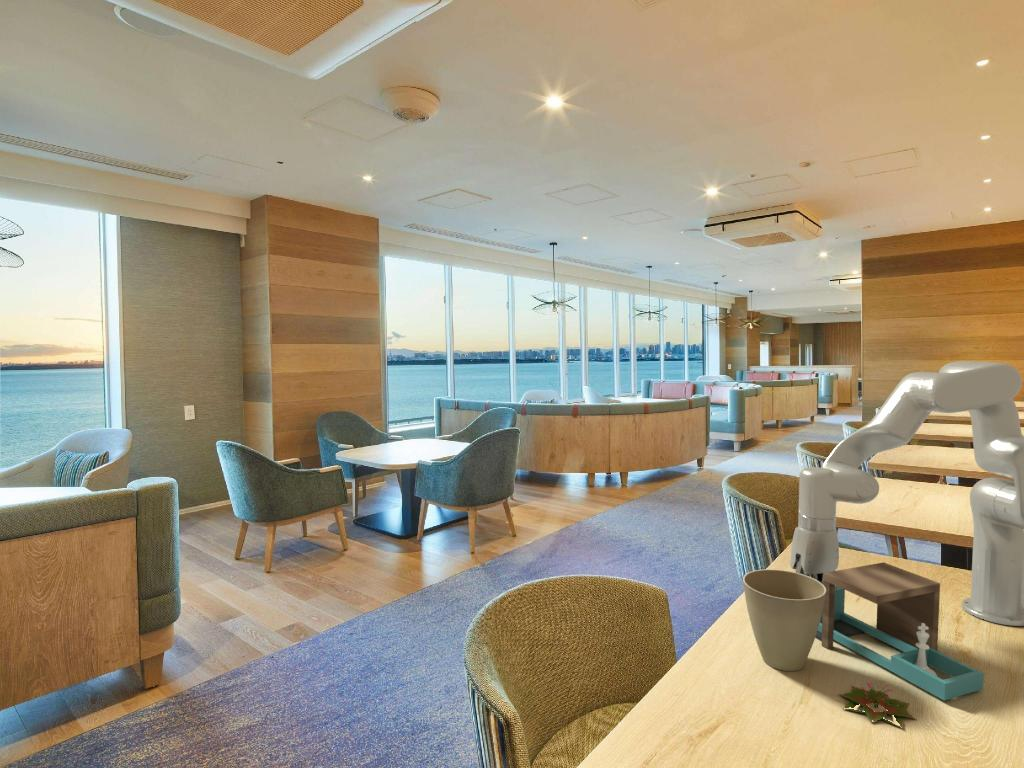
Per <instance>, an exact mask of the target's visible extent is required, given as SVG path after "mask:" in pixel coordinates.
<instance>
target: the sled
mask: <svg viewBox="0 0 1024 768" xmlns="http://www.w3.org/2000/svg"><path fill="white" fill-rule="evenodd" d="M845 594H846V590H844V589H842V588H840V587H838V586H835V601H834V621H837V620H842V621H844V622H846V623H848V624H850V625H852V626H854V627H856V628H858V629H860V630H862V631H864V632H865V633H866V634H867V635H870V636H872V637H874V638H876V639H878V640H879V641H882V642H884V643H885V644H887V645H890V646H891V647H893V648H896V649H898V650H899V651H902V652H900V653H896V654H891V656H890V658H887V657H885V656H883V655H882V654H879V653H878V652H876V651H874V650H873V649H870V648H869V647H867V646H865V645H864V644H862V643H859V642H857V641H856V640H854V639H852V638H850V637H849V636H847V637H846V636H844V635H843V634H841V633H839V632H837V631H835V630H834V634H833V639H834V640H833V641H836V642H838V643H839V644H841V645H843V646H844V647H846V648H849V650H852V651H854V652H856V653H857V654H859V655H861V656H863V657H865V658H866V659H868V660H870V661H872V662H874V663H875V664H878V665H879V666H881V667H882V668H885V669H886V670H888V671H890V672H891V673H894V674H895V675H897V676H899V677H901V678H903V679H904V680H907V681H908V682H909V683H912V684H913V685H915V686H917V687H919V688H920V689H923V690H924V691H925V692H928V693H930V694H931V695H933V696H935V697H937V698H938V699H940V700H943V701H947V700H950V699H951V700H952V699H953V698H957V697H958V698H959V697H961V696H964V695H967V694H971V693H974V692H975V693H976V692H979V691H981V690H984V681H985V680H984V677H985V675H984V674H985V673H984V672H983V671H980V670H978V669H977V668H976V667H975V668H974V667H973V666H970V665H968V664H966V663H965V662H962V661H961V660H957V659H956V658H953V657H952V656H949V655H947V654H945V653H944V652H941V651H939V650H938V649H937V650H935V649H933V648H931V647H929V649H925V652H926V662H927V666H931V667H933V668H935V669H937V670H939V671H940V672H942V673H945V674H946V675H949V676H951V677H948V678H946V679H945V678H944V679H942V678H941V677H939V676H938V675H937V676H935V675H933V674H931V673H929V672H927V671H925V670H923V669H921V668H920V667H918V666H916V665H914V664H915V663H916V662H917V658H918V653H919V649H917V648H915V647H913V646H911V645H909V644H907V643H905V642H903V641H901V640H899V639H897V638H895V637H893V636H891V635H889V634H887V633H885V632H883V631H881V630H879V629H877V628H876V626H872V625H870V624H868V623H867V622H865V621H863V620H860V619H858V618H856V617H855V616H852V615H850V614H848V613H846V612H845V600H846V599H845V597H846V595H845ZM822 612H823V611H822ZM818 631H819V632H821V633H822V616H821V620H820V624H819V627H818Z"/></svg>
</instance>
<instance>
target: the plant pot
mask: <svg viewBox="0 0 1024 768" xmlns="http://www.w3.org/2000/svg"><path fill="white" fill-rule="evenodd" d="M742 582H743V590H744V595H745V597H744V598H745V603H746V608H747V613H748V617H749V621H750V625H751V629H752V632H753V634H754V635H753V636H754V638H755V641H756V642H755V643H756V644H757V647H758V650H759V653H760V655H761V658H762V660H763V662H764V663H765V664H766V663H767V664H766V665H768V666H769V667H771V668H773V669H777V670H780V671H784V672H795V671H799V670H801V669H802V668H803V667H804V665H805V663H806V661H807V659H808V656H809V654H810V652H811V650H812V647H813V644H814V642H815V640H816V638H815V637H816V634H817V631H818V627H819V624H820V620H821V616H822V611H823V606H824V601H825V596H826V588H825V586H824V585H823V584H822V583H820V582H819V581H817V580H816V579H814V578H811V577H809V576H806V575H803V574H800V573H796V571H789V570H785V569H784V570H783V569H772V568H771V569H769V568H767V569H764V568H763V569H755V570H752V571H749V572H747V573H744V575H743V577H742Z"/></svg>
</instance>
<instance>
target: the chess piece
mask: <svg viewBox="0 0 1024 768" xmlns="http://www.w3.org/2000/svg"><path fill="white" fill-rule="evenodd" d="M918 629H919V630H921V631H917V632H916V634H917V636H918V640H919V643H916V646H917V647H918V648H919V653H918V658H917V662H916V663H915V664H914V665H916V666H918V667H920V668H921V669H923V670H925V671H927V672H929V673H931V674H933V675H935V676H937V677H938V674H937V673H936V672H935V671H934V670H933V669H932V668H930V667H929V665H927V662H926V652H925V649H929V646H928V645H927V644H926V642H927V640H928V638H929V634H928V633H926V632H925V630H928V627H927V626H925V624H924V623H921V626H918Z"/></svg>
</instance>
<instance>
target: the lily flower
mask: <svg viewBox="0 0 1024 768" xmlns="http://www.w3.org/2000/svg"><path fill="white" fill-rule="evenodd" d="M869 681H870V683H871V684H870V683H869V682H868V681H866V686H867V687H868V688H869V690H866V689H865V688H864V687H863V686H862V687H861V688H860V687H857V686H853V685H851V691H848V692H844V693H839V694H838V695H839V696H841V697H844V698H846V699H849V701H847V702H846V704H845V705H844V707H843V708H842V710H847V711H852V712H858V713H860V714H861V713H862V714H864V715H866V716H867V717H868V719H869V720H870V723H871V722H872V721H871V720H873V721H874V723H876V722H877V721H879V720H883V721H885V722H888V723H889V724H891V725H893V726H895V727H897V728H900V729H902V730H904V731H905V727H904V720H903V719H902V718H901V717H905V718H909V719H913V720H915V719H916V718H915V717H914V716H913V715H912V714H910V712H909V711H908V710H907V709H906V708H908V706H909V705H910V703H908V702H904V701H901V700H899V699H897V698H891V696H889V695H888V692H893V689H887V690H884V689H886V687H888V686H890V685H889V683H888V684H886V685H885V686H884V687H883V688H882V689H881V690H880V691H878V690H875V686H874V685H873V682H872V680H871V679H870V680H869ZM871 685H872V686H871ZM876 689H879V685H877V688H876ZM859 704H860V705H861V706H862V710H864V711H865V712H862V711H859V710H854V709H851V710H849V709H844V708H849V707H851V708H854V707H855V706H856V705H859ZM866 704H867V705H868V706H869V705H871V704H872V705H873V708H876V707H877V709H878V708H879V706H881V707H882V706H883V707H884V708H885V709H887V710H888V711H886V710H885V709H884V708H883V707H882V708H883V709H884V710H882V711H883V712H880V711H875V710H874V709H872V707H870V706H869V707H868V706H867V705H866ZM873 710H874V711H875V712H874V711H873ZM888 715H890V716H891V715H894V717H895V718H896V721H897V722H898V723H899V724H900V726H901V727H902V728H901V727H899V726H897V725H895V724H893V723H892V722H890V721H888V720H885V719H883V717H885V718H886V717H887V716H888Z"/></svg>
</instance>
